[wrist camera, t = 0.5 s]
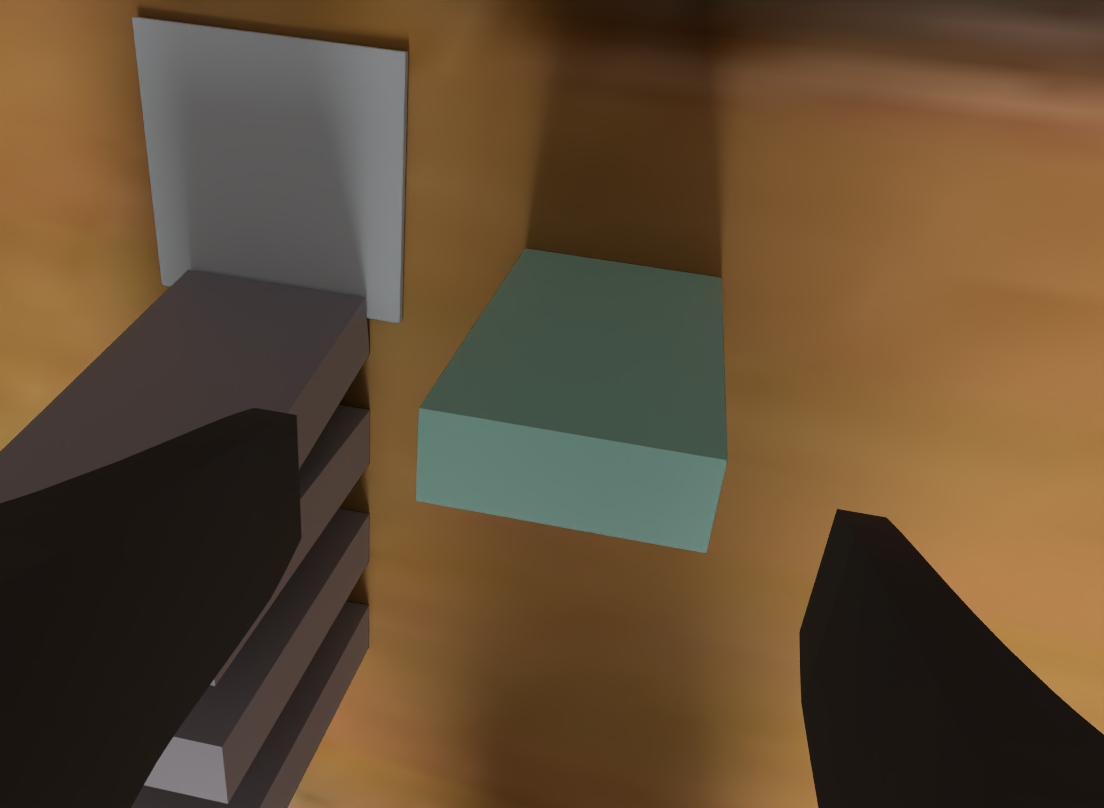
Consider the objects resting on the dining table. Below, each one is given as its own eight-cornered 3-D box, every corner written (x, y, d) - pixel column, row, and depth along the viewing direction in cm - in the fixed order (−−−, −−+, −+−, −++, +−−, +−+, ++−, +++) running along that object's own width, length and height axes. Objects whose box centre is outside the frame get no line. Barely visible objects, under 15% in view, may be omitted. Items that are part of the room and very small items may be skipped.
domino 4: (368, 647, 26) (238, 904, 19) (228, 619, 26) (49, 859, 19) (368, 605, 25) (233, 856, 18) (224, 577, 25) (36, 811, 18)
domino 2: (369, 463, 23) (214, 686, 16) (211, 435, 23) (-9, 639, 16) (369, 409, 22) (207, 618, 15) (206, 381, 22) (-26, 571, 15)
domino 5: (707, 344, 20) (705, 553, 13) (519, 314, 20) (415, 501, 13) (721, 277, 19) (727, 460, 12) (525, 248, 19) (418, 408, 12)
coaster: (401, 320, 21) (399, 323, 21) (166, 282, 21) (162, 284, 21) (408, 51, 18) (405, 52, 18) (137, 16, 19) (131, 16, 18)
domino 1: (369, 353, 21) (211, 612, 15) (200, 325, 22) (-21, 566, 16) (365, 297, 20) (194, 551, 14) (188, 269, 21) (-54, 503, 15)
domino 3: (368, 560, 24) (227, 804, 17) (220, 532, 25) (23, 758, 18) (369, 513, 24) (221, 747, 16) (216, 485, 24) (8, 700, 17)
